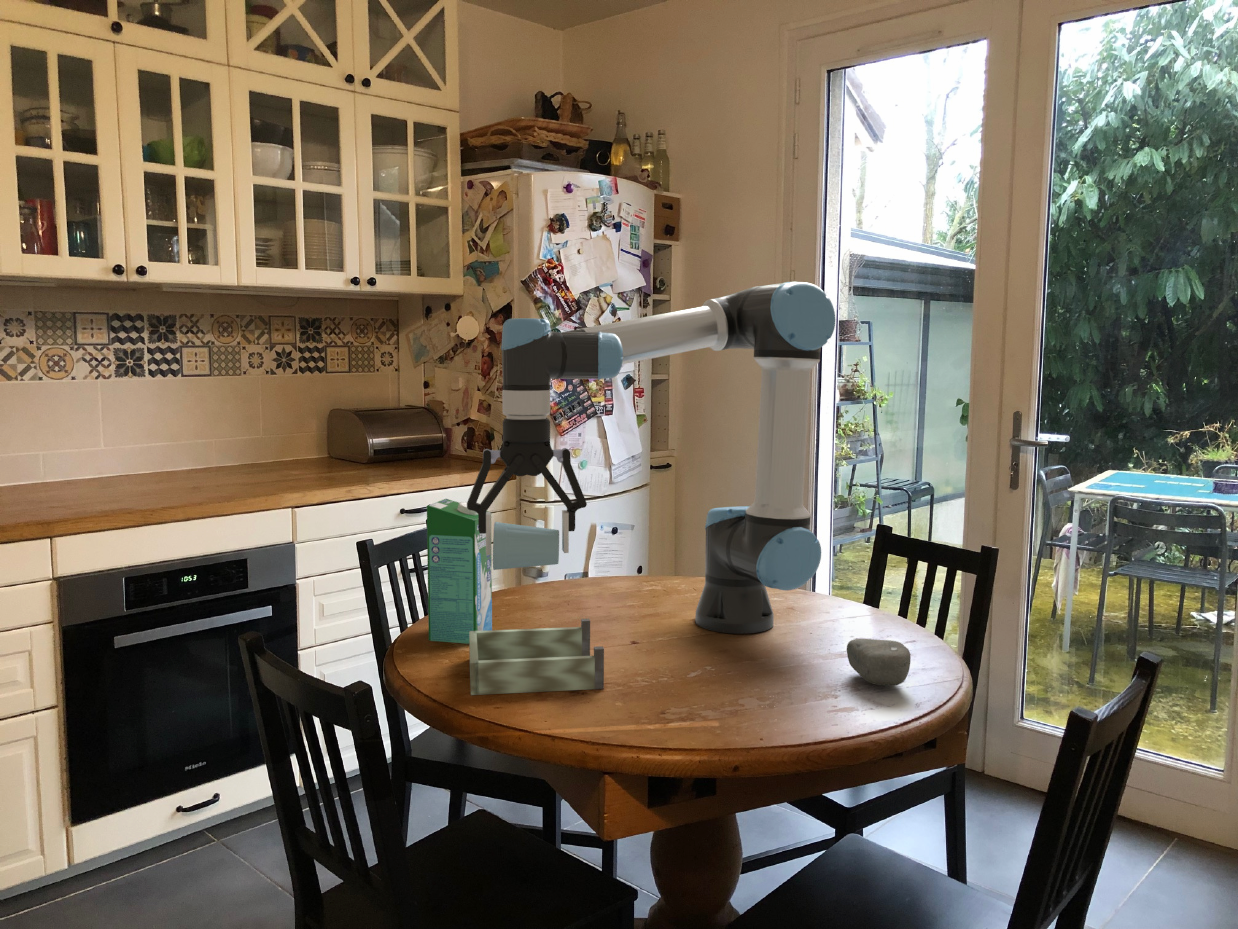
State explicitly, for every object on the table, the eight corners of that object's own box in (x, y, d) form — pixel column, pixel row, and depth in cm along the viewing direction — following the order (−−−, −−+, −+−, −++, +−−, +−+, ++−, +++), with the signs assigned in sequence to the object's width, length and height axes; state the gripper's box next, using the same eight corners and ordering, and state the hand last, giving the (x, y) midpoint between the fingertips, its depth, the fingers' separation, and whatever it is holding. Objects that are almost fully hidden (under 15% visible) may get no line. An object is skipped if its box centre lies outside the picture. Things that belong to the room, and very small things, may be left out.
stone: (897, 660, 162) (906, 620, 156) (907, 704, 155) (917, 664, 149) (842, 660, 163) (849, 620, 156) (850, 704, 156) (857, 663, 150)
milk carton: (475, 645, 174) (474, 507, 171) (428, 642, 176) (426, 505, 173) (492, 631, 183) (491, 499, 180) (446, 628, 184) (445, 497, 182)
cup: (558, 574, 153) (491, 573, 152) (557, 567, 161) (494, 566, 160) (559, 526, 153) (493, 525, 152) (559, 521, 160) (495, 520, 160)
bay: (588, 654, 169) (589, 618, 168) (603, 689, 152) (604, 649, 151) (469, 659, 165) (469, 623, 165) (470, 695, 148) (470, 654, 148)
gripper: (598, 415, 159) (597, 545, 162) (449, 415, 155) (451, 549, 158) (604, 418, 152) (604, 555, 154) (449, 419, 148) (451, 559, 151)
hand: (527, 552), depth 156 cm, fingers closed on cup, 12 cm apart
